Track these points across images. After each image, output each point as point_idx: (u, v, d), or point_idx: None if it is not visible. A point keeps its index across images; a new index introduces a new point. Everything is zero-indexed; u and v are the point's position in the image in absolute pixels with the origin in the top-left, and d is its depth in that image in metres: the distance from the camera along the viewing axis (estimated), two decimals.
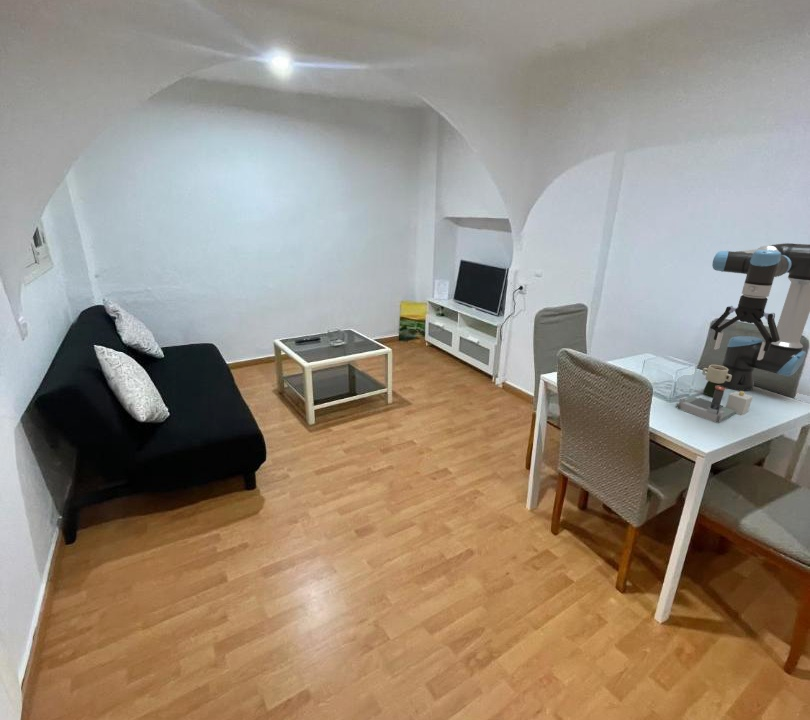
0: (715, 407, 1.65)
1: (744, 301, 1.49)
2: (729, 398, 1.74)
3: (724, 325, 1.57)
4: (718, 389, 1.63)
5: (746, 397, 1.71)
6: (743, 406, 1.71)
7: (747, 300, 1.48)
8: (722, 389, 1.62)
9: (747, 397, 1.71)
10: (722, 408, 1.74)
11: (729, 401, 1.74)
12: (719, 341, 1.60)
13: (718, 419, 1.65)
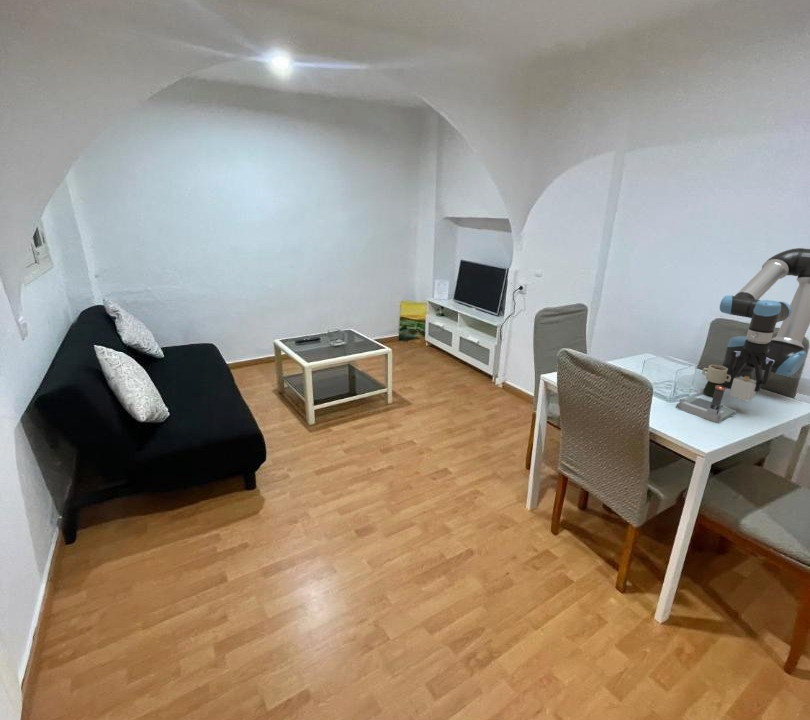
0: (715, 407, 1.65)
1: (748, 345, 1.65)
2: (734, 383, 1.72)
3: (736, 370, 1.72)
4: (718, 389, 1.63)
5: (751, 382, 1.69)
6: (748, 391, 1.69)
7: (751, 345, 1.64)
8: (722, 389, 1.62)
9: (752, 382, 1.69)
10: (722, 408, 1.74)
11: (734, 386, 1.72)
12: None
13: (718, 419, 1.65)
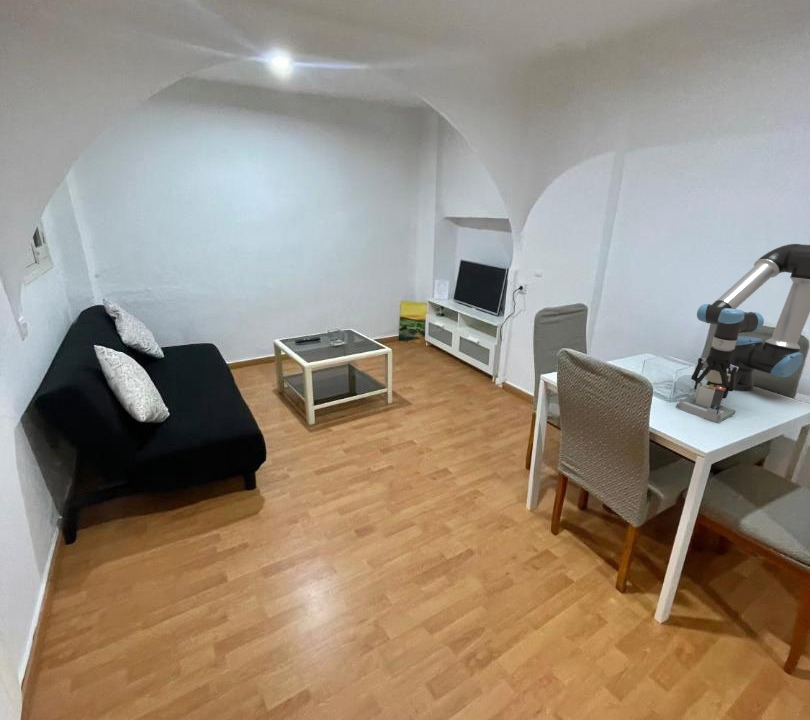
0: (715, 407, 1.65)
1: (713, 352, 1.68)
2: (699, 391, 1.75)
3: (701, 376, 1.76)
4: (718, 389, 1.63)
5: None
6: None
7: (716, 352, 1.68)
8: (722, 389, 1.62)
9: None
10: (722, 408, 1.74)
11: (699, 394, 1.76)
12: None
13: (718, 419, 1.65)
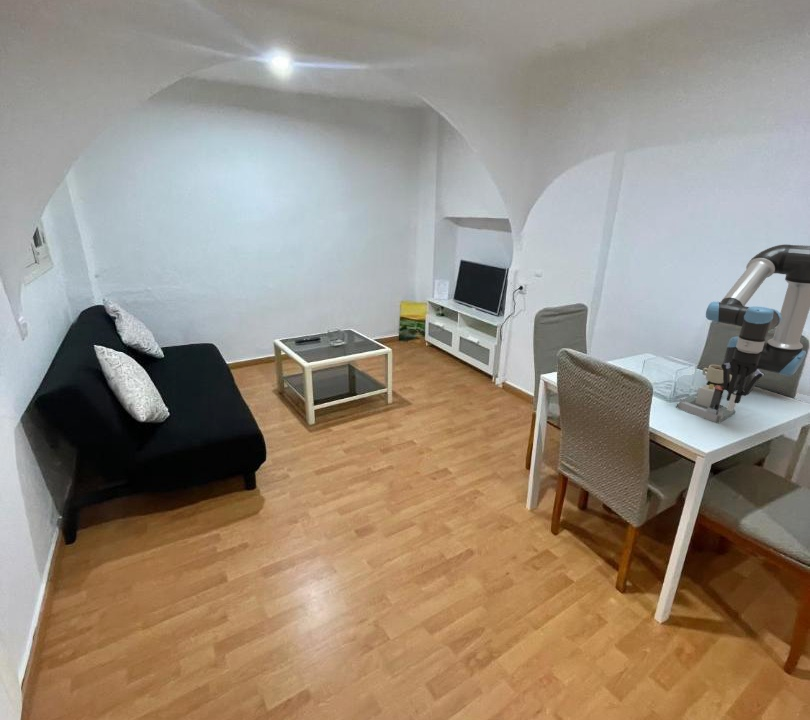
0: (714, 407, 1.65)
1: (738, 355, 1.53)
2: (699, 391, 1.75)
3: (732, 384, 1.59)
4: (717, 389, 1.63)
5: None
6: None
7: (741, 354, 1.53)
8: (721, 389, 1.62)
9: None
10: (722, 408, 1.74)
11: (699, 394, 1.76)
12: None
13: (718, 419, 1.65)
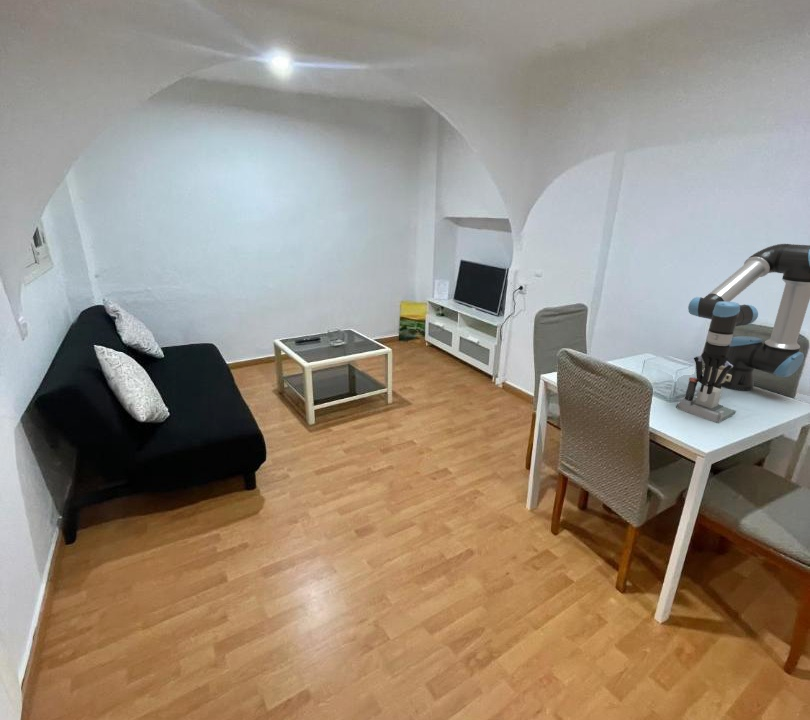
0: (689, 398, 1.72)
1: (709, 347, 1.61)
2: (699, 391, 1.75)
3: (704, 376, 1.66)
4: (691, 381, 1.70)
5: (716, 390, 1.73)
6: (712, 399, 1.72)
7: (711, 347, 1.60)
8: (695, 381, 1.69)
9: (716, 390, 1.73)
10: (722, 408, 1.74)
11: (699, 394, 1.76)
12: None
13: (718, 419, 1.65)
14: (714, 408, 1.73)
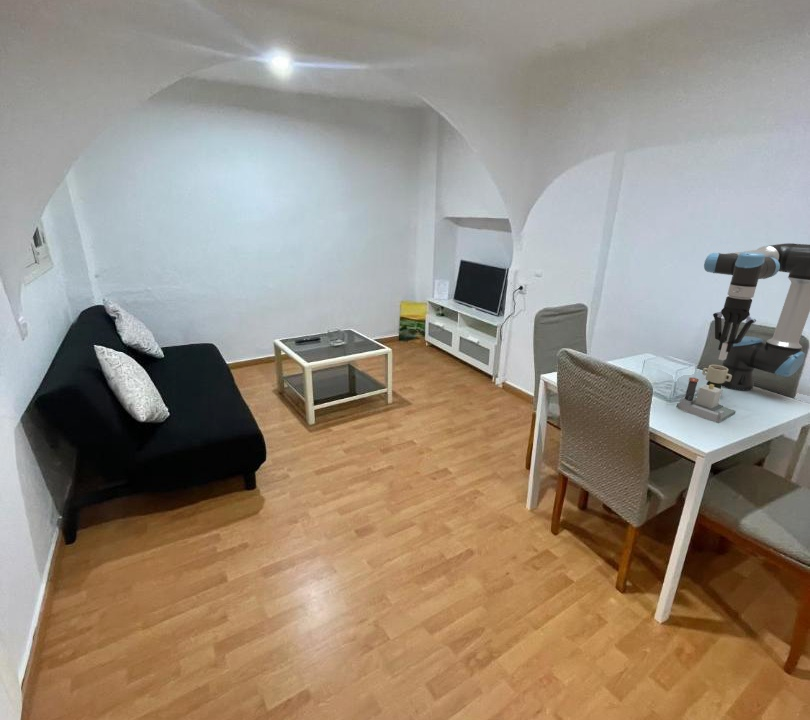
0: (689, 398, 1.72)
1: (730, 301, 1.53)
2: (699, 391, 1.75)
3: (723, 333, 1.58)
4: (691, 381, 1.70)
5: (716, 390, 1.73)
6: (712, 399, 1.72)
7: (732, 301, 1.52)
8: (695, 381, 1.69)
9: (716, 390, 1.73)
10: (722, 408, 1.74)
11: (699, 394, 1.76)
12: None
13: (718, 419, 1.65)
14: (714, 408, 1.73)
